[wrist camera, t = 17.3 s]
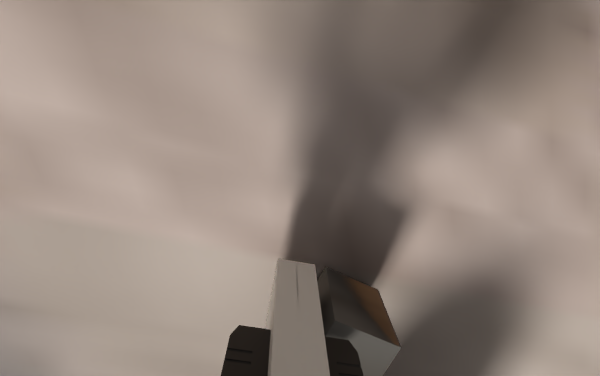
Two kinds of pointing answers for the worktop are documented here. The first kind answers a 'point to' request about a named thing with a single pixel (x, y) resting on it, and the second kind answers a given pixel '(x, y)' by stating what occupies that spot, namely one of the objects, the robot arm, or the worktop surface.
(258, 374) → the robot arm
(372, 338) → the hinged jaw
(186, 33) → the worktop surface
